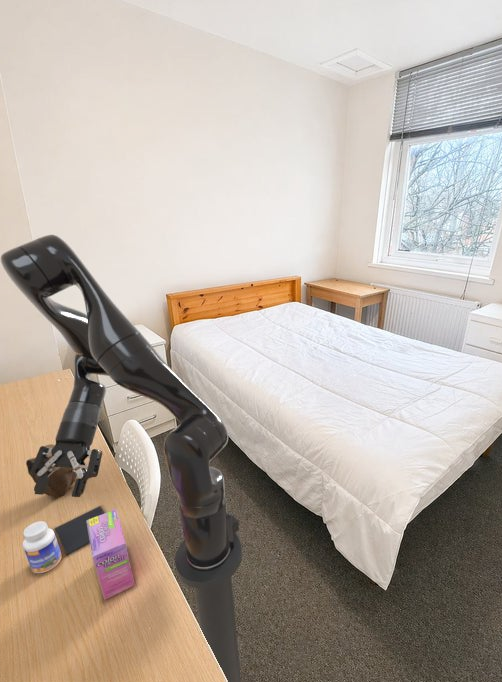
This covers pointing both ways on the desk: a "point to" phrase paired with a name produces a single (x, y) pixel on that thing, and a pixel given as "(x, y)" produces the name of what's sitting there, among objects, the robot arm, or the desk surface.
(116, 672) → the desk surface
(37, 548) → the pill bottle
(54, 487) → the sculpture
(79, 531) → the pad
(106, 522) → the box
